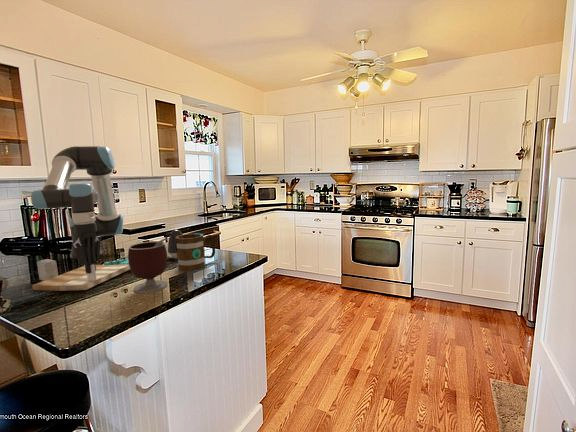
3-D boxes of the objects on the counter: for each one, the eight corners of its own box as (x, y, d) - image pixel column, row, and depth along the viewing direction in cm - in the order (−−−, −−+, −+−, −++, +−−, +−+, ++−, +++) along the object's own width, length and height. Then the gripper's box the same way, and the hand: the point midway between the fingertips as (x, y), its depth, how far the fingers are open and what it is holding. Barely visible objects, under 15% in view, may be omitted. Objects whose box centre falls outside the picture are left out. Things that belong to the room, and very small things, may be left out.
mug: (183, 272, 140) (181, 240, 138) (172, 266, 151) (170, 236, 149) (222, 263, 153) (220, 233, 151) (210, 258, 163) (208, 230, 161)
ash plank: (110, 269, 150) (109, 265, 150) (132, 268, 149) (131, 264, 148) (59, 290, 123) (58, 285, 123) (86, 289, 121) (85, 284, 121)
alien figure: (104, 267, 156) (139, 268, 152) (103, 262, 156) (138, 263, 152) (131, 256, 175) (163, 257, 171) (131, 252, 175) (162, 253, 171)
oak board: (87, 268, 152) (87, 264, 152) (109, 269, 151) (108, 265, 150) (32, 290, 125) (32, 285, 125) (58, 290, 123) (58, 285, 123)
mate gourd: (123, 293, 117) (117, 241, 115) (145, 281, 131) (140, 234, 128) (161, 294, 115) (156, 241, 113) (179, 281, 129) (175, 234, 126)
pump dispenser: (164, 257, 168) (162, 230, 166) (182, 253, 176) (180, 227, 173) (172, 261, 161) (170, 232, 159) (191, 256, 168) (189, 229, 166)
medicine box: (59, 279, 138) (56, 260, 136) (47, 282, 134) (44, 263, 133) (50, 277, 142) (48, 258, 140) (39, 280, 138) (36, 261, 137)
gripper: (79, 225, 116) (87, 286, 119) (105, 220, 129) (111, 275, 132) (62, 225, 117) (70, 285, 120) (89, 220, 130) (96, 274, 133)
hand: (92, 280), depth 126 cm, fingers closed
